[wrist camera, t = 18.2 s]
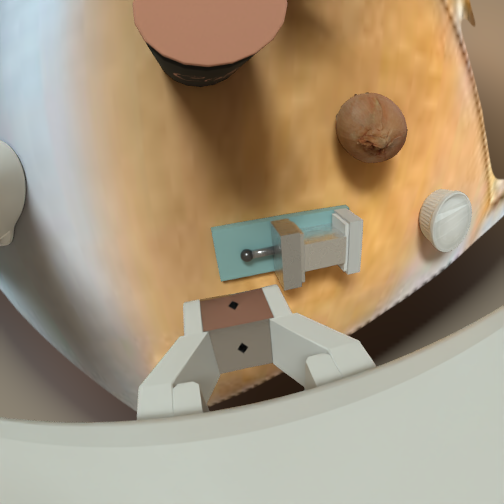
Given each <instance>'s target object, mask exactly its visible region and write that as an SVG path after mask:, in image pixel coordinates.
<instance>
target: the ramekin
mask: <svg viewBox="0 0 504 504" xmlns="http://www.w3.org/2000/svg"><path fill="white" fill-rule="evenodd" d="M471 217H472V208H471V203H470V200H469V198H468V197H467V196H466V195H465V194H464V193H462V192H460V191H451V190H446V189H439V190H436V191H434V192H432V193H431V194H430V195H429V196H428V197H427V198H426V199H425V201H424V203H423V205H422V207H421V210H420V215H419V223H420V228H421V231H422V233H423V234H424V236H425V237H426V238H427V239H428V240H429V241H430V242H431V243H432V245H433V246H434V247H435V248H436V249H437V250H439V251H441V252H449V251H451V250H453V249H455V248H456V247H457V246H458V245H459V244H460V243H461V242H462V241H463V239H464V238H465V236H466V234H467V232H468V229H469V226H470V223H471Z"/></svg>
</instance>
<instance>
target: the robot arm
mask: <svg viewBox="0 0 504 504" xmlns="http://www.w3.org/2000/svg"><path fill="white" fill-rule="evenodd" d="M25 193H26V186H25V177H24V172H23V169H22V166H21V163H20V161H19V159H18V157H17V155H16V154H15V152H14V151H13V150H12V148H11V147H10V146H9V145H7V144H6V143H5V142H3V141H1V140H0V246H7V245H8V244H10V243H11V242H12V240H13V234H14V226H15V224H16V222H17V220H18V218H19V217H20V215H21V212H22V210H23V206H24V202H25ZM183 313H184V336H180V337H179V338H178V339H177V341H176V342H175V343H174V344H173V346H172V347H171V348H170V349H169V351H168V352H167V353H166V354H165V355H164V357H163V358H162V359H161V360H160V362H159V363H158V364H157V365H156V367H155V368H154V369H153V370H152V372H151V373H150V374H149V375H148V377H147V378H146V379H145V380H144V382H143V383H142V384H141V385H140V386H139V391H138V406H137V420H136V421H118V422H50V421H34V420H22V419H12V418H4V417H0V504H504V305H503V306H502V307H500V308H498V309H497V310H495V311H493V312H491V313H490V314H488V315H486V316H484V317H483V318H481V319H479V320H478V321H476V322H474V323H472V324H470V325H468V326H467V327H464V328H463V329H461V330H459V331H457V332H455V333H453V334H451V335H449V336H447V337H445V338H443V339H441V340H439V341H437V342H435V343H432V344H430V345H428V346H426V347H424V348H421V349H419V350H417V351H415V352H412V353H410V354H408V355H405V356H403V357H401V358H398V359H396V360H393V361H391V362H388V363H386V364H383V365H380V366H378V367H376V365H375V364H374V362H373V361H372V359H371V358H370V356H369V355H368V353H367V352H366V350H365V349H364V348H363V346H362V345H361V343H360V342H359V341H358V340H356V339H354V338H351V337H349V336H347V335H345V334H342V333H340V332H338V331H336V330H334V329H331V328H329V327H327V326H325V325H322V324H320V323H318V322H316V321H314V320H312V319H309V318H307V317H305V316H303V315H301V314H299V313H294V314H292V312H291V310H290V308H289V306H288V304H287V302H286V300H285V298H284V296H283V294H282V293H281V291H280V289H279V287H278V285H276V284H275V285H271V286H266V287H262V288H259V289H255V290H250V291H245V292H241V293H236V294H229V295H223V296H217V297H212V298H206V299H200V300H194V301H188V302H184V304H183ZM269 363H273V364H274V365H276V366H277V367H278V368H279V369H281V370H282V371H283V372H285V373H286V374H288V375H289V376H290V377H292V378H293V379H294V380H296V381H297V382H298V383H300V384H301V385H303V386H304V387H305V390H304V391H301V392H298V393H294V394H290V395H287V396H283V397H279V398H275V399H271V400H267V401H262V402H258V403H253V404H248V405H243V406H239V407H233V408H229V409H223V410H217V411H211V412H210V411H209V409H208V406H207V402H208V400H209V398H210V396H211V394H212V391H213V389H214V387H215V385H216V383H217V381H218V379H219V377H220V374H222V373H226V372H231V371H235V370H240V369H244V368H249V367H254V366H259V365H264V364H269Z"/></svg>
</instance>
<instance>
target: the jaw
mask: <svg viewBox="0 0 504 504" xmlns="http://www.w3.org/2000/svg"><path fill="white" fill-rule="evenodd" d="M270 226H271V237H272V246H270V247H265V248H260V249H254V250H250V249H244V250H242V252H241V254H240V257H241V259H242V260H243V261H244V262H250V261H251V260H252V259H254V258H259V257H264V256H270V255H273V260H274V272H275V274H276V276H277V278H278V280H279V282H280V283H281V285H282V287H283V289H284V291H285V290H289V289H294V288H298V287H302V282H305V257H304V233H303V232H302V231H301V230H300V229H299V227H298V226H297V225H296V224H295V223H294V222H293V221H292V222H291V221H290V220H289V219H288V218H287V219H281V220H275V221H270Z"/></svg>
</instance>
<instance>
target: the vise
mask: <svg viewBox="0 0 504 504" xmlns="http://www.w3.org/2000/svg"><path fill="white" fill-rule="evenodd" d="M287 218H288V219H289V220H290V221H291V222H292V221H293V222H294V223H295V224H296V225H297V226H298V227H299V228H304V227H310V226H316V225H321V224H327V223H332V224H333V225H334V226H335V227H336V228H337V229H339V230H340V231H341V232H342V233H343V234H344V235H345V236H346V261H345V263H342V264H338V266H339V267H340V268H341V269H342V270H343V271H345V272H346V273H347V274H353V273H357V272H360V264H361V250H362V234H363V220H362V219H361V218H359V217H358V216H357V215H355V214H354V213H352V212H351V211H350V210H349V207H348V206H346V205H342V206H335V207H329V208H323V209H316V210H310V211H304V212H298V213H291V214H285V215H279V216H274V217H268V218H262V219H256V220H250V221H245V222H239V223H234V224H228V225H223V226H217V227H212V228H211V230H212V236H213V241H214V247H215V252H216V258H217V263H218V268H219V274H220V279H221V281H226V280H231V279H236V278H241V277H246V276H251V275H256V274H261V273H266V272H271V271H274V260H273V255H270V256H264V257H259V258H254V259H252V260H251V261H250V262H244V261H243V260H242V259H241V257H240V254H241V252H242V250H244V249H250V250H254V249H260V248H265V247H270V246H272V237H271V226H270V221H275V220H281V219H287Z"/></svg>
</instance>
